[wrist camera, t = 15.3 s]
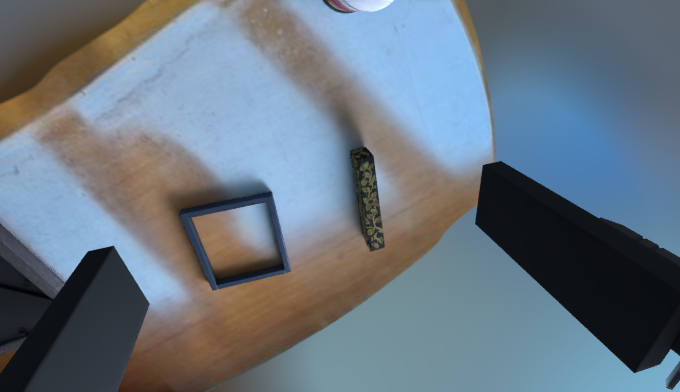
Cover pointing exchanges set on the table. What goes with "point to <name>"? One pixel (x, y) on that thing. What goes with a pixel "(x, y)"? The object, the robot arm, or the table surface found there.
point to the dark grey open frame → (227, 205)
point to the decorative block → (368, 197)
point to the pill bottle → (359, 5)
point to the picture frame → (22, 291)
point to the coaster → (334, 7)
